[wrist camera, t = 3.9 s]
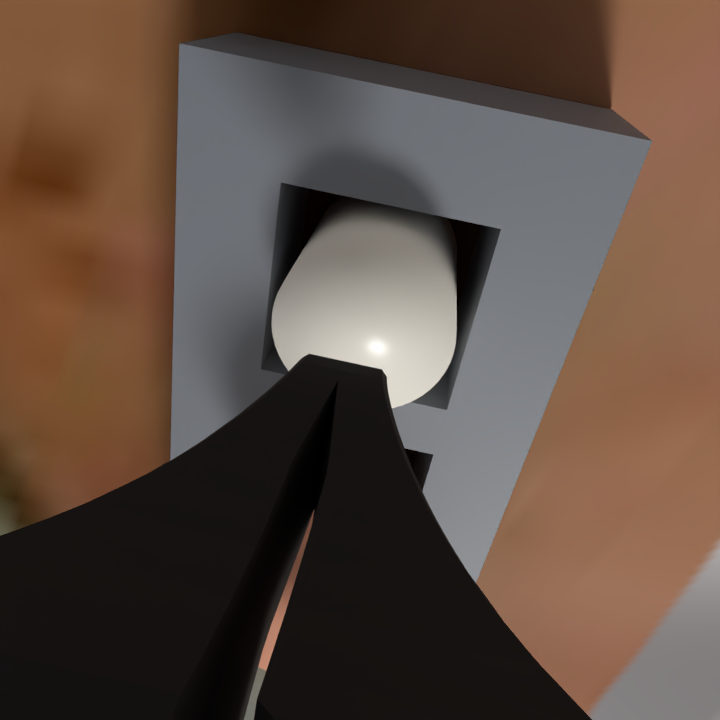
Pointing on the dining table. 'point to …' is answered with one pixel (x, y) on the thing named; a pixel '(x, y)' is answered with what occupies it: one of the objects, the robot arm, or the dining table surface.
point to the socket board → (404, 190)
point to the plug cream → (374, 295)
